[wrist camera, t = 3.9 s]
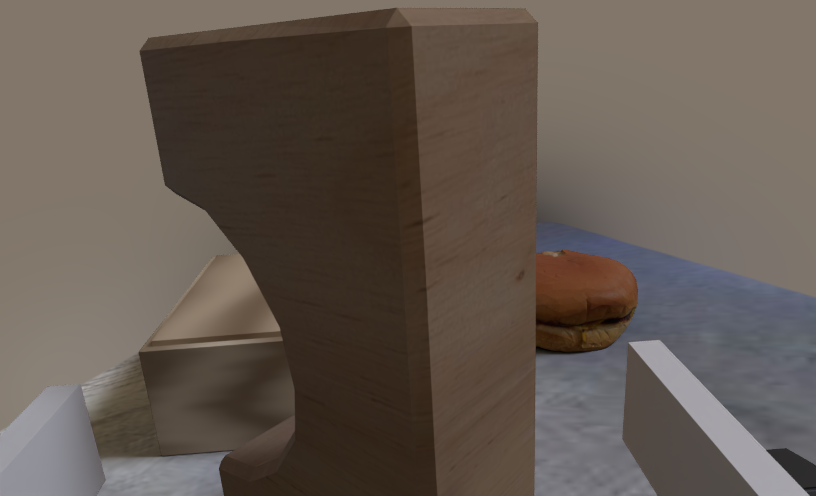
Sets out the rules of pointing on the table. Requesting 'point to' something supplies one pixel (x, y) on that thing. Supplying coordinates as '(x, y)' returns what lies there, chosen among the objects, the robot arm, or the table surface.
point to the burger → (582, 301)
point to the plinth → (217, 364)
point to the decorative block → (374, 236)
